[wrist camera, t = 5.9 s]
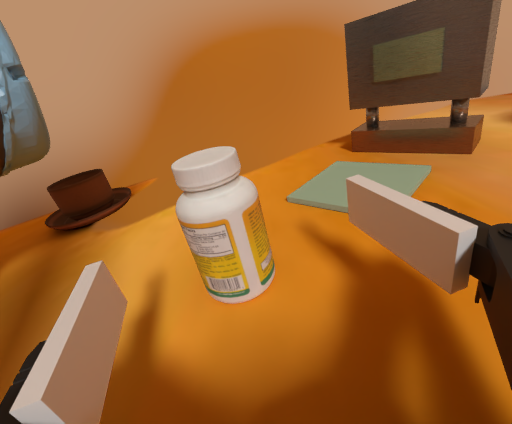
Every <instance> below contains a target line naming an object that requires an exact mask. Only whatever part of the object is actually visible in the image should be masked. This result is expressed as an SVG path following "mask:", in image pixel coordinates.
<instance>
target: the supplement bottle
mask: <svg viewBox="0 0 512 424" xmlns="http://www.w3.org/2000/svg"><path fill="white" fill-rule="evenodd" d="M240 167H241V164H240V162H239V159H238V155H237V152H236V149H235V148H234V147H228V146H222V147H214V148H209V149H205V150H201V151H198V152H194V153H192V154H189V155H187V156H185V157H182V158H181V159H179V160H177V161H175V162H174V163H173V164H172V166H171V169H172V172H173V174H174V177H175V180H176V184H177V185H178V186H179V188H180V189H181V190H183V191H185V192H183V193H182V195H181V196H180V197H179V199H178V201H177V203H176V214H177V217H178V220H179V222H180V225H181V227H182V230H183V232H184V235H185V237H186V240H187V242H188V245H189V247H190V250H191V252H192V255H193V257H194V259H195V262H196V264H197V267H198V269H199V272H200V274H201V277H202V279H203V282H204V284H205V287H206V289H207V291H208V293H209V294H210V295H211V296H212V297H213V298H214V299H216V300H218V301H220V302H223V303H231V304H232V303H241V302H245V301H248V300H251V299H253V298H255V297H257V296H258V295H260V294H261V293H263V292H264V291H265V290H266V289H267V288H268V286H269V285H270V284H271V282H272V280H273V277H274V274H275V265H274V260H273V256H272V252H271V248H270V244H269V240H268V235H267V231H266V227H265V222H264V218H263V214H262V210H261V205H260V201H259V196H258V192H257V189H256V187H255V185H254V184H253V183H252V181H250V180H249V179H247V178H245V177H243V176H238V174H239V173H240Z"/></svg>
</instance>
